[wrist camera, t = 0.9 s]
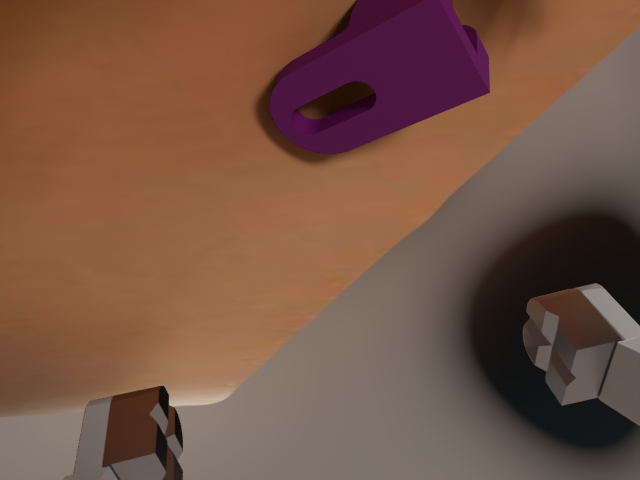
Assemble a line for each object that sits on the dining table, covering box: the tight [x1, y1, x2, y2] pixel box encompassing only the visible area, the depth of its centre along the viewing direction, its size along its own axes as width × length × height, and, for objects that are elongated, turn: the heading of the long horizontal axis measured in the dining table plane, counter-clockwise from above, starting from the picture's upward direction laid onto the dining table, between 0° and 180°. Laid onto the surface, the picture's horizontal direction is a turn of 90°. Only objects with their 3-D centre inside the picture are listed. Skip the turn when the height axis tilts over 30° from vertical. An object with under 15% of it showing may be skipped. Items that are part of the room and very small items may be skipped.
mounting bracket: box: [270, 0, 490, 154], centre depth 47 cm, size 10×8×18 cm
